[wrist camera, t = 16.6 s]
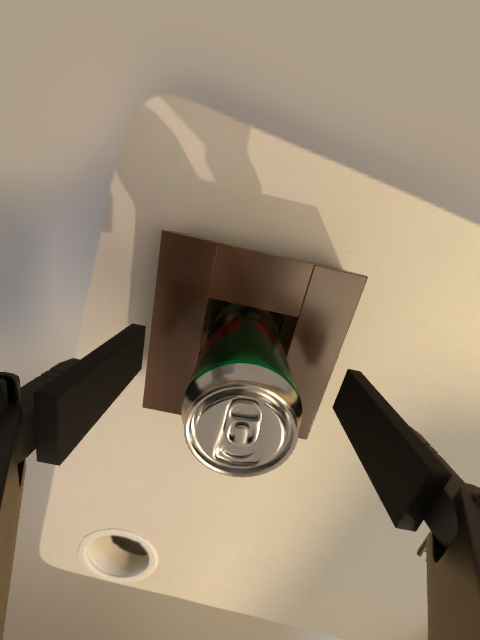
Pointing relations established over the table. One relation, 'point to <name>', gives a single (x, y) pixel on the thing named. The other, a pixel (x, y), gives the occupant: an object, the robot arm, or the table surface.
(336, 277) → the holder
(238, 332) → the soda can
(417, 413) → the table surface
